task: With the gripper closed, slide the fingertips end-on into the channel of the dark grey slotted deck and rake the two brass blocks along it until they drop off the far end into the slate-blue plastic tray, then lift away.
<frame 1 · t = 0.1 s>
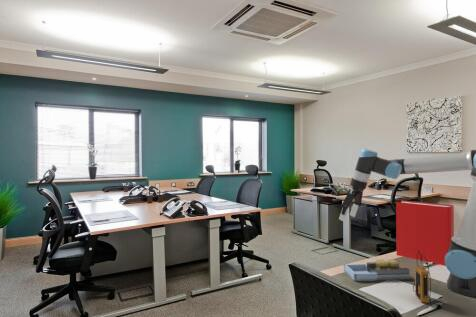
hand: (346, 218, 158), 28 cm above the table, tool tilted 20°, fingers open, 13 cm apart
slotted deck: (387, 274, 154), on the table
multimeter: (431, 300, 127), on the table
brass block 2: (381, 270, 154), point 2 cm above the table, touching slotted deck
brass block 1: (392, 269, 154), point 2 cm above the table, touching slotted deck
book: (424, 259, 176), on the table
tray: (359, 275, 153), on the table
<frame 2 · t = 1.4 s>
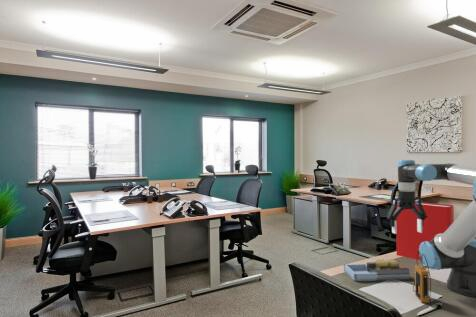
hand: (407, 232, 154), 21 cm above the table, tool pointing down, fingers open, 13 cm apart
nothing on the table moved.
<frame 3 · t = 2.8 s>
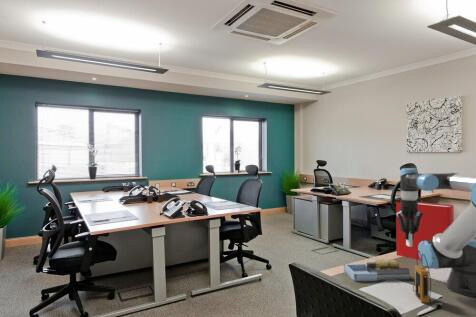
hand: (409, 245, 154), 14 cm above the table, tool pointing down, fingers closed
nothing on the table moved.
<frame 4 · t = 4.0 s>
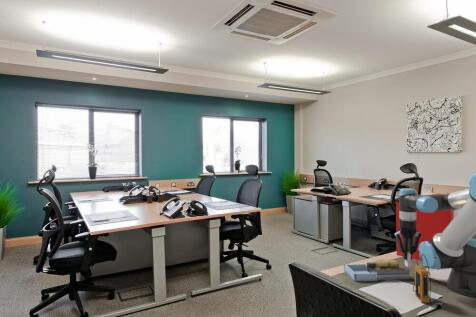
hand: (407, 266, 154), 4 cm above the table, tool pointing down, fingers closed
nothing on the table moved.
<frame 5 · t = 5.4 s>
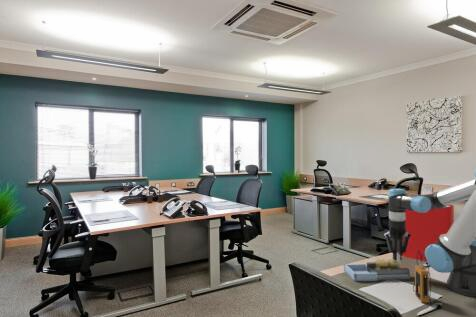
hand: (397, 266, 154), 4 cm above the table, tool pointing down, fingers closed
brass block 1: (392, 269, 154), point 3 cm above the table, touching gripper, slotted deck
everything else where it was.
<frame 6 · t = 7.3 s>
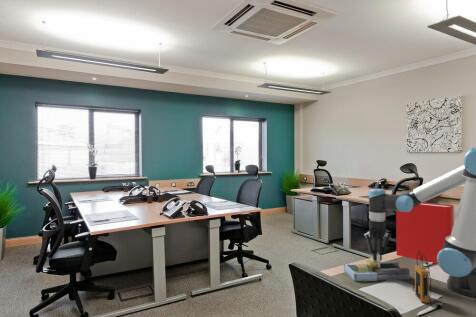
hand: (377, 266, 154), 4 cm above the table, tool pointing down, fingers closed
brass block 2: (365, 269, 153), point 3 cm above the table, tilted 90°, touching tray
brass block 1: (372, 270, 153), point 3 cm above the table, touching gripper
everything else where it was.
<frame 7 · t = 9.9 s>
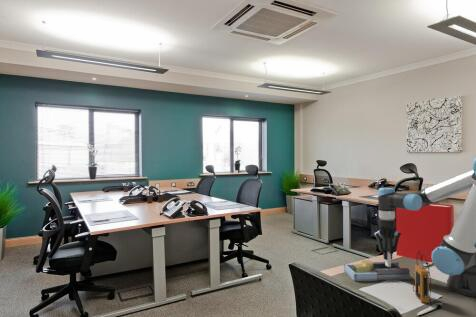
hand: (388, 265, 153), 5 cm above the table, tool pointing down, fingers closed
brass block 2: (364, 269, 153), point 3 cm above the table, tilted 94°, touching brass block 1, tray
brass block 1: (368, 270, 153), point 2 cm above the table, touching brass block 2, slotted deck
everything else where it was.
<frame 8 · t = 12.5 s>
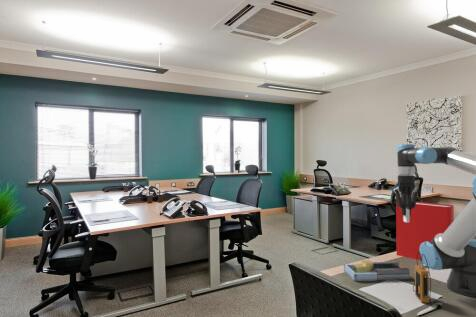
hand: (406, 221, 154), 26 cm above the table, tool pointing down, fingers closed
nothing on the table moved.
at the end: brass block 1 inside the target area (4.6 cm from its centre), point 2.4 cm above the table; brass block 2 inside the target area (2.6 cm from its centre), point 3.1 cm above the table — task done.
